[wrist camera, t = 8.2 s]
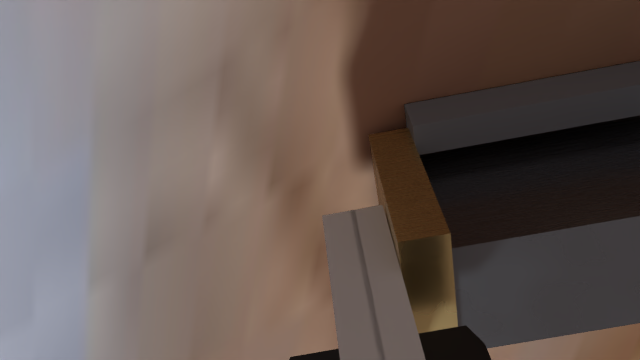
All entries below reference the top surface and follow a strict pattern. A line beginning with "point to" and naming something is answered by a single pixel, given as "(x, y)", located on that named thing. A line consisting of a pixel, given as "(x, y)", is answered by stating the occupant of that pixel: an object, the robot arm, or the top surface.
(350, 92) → the top surface
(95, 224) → the top surface
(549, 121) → the socket block
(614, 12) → the top surface
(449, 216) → the yellow capped grey block
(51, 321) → the top surface
